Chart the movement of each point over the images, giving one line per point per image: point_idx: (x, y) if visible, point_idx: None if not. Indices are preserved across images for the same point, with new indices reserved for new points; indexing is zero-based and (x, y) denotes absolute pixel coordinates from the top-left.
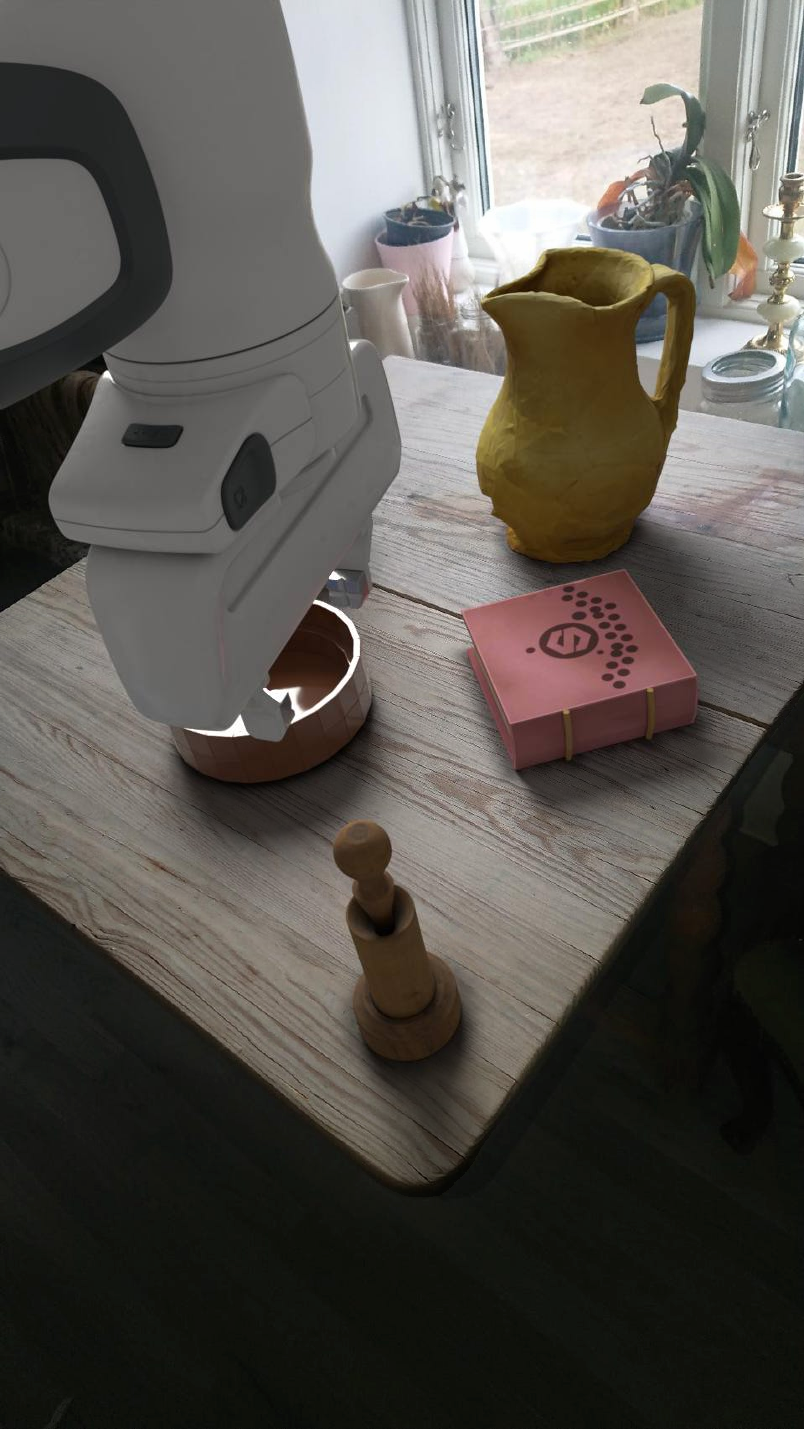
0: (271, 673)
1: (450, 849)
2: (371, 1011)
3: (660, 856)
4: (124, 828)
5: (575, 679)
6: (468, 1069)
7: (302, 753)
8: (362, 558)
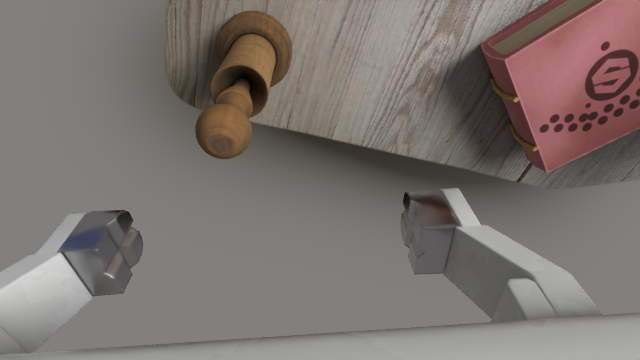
0: None
1: (394, 21)
2: (227, 43)
3: (409, 153)
4: None
5: (555, 95)
6: None
7: None
8: (462, 287)
